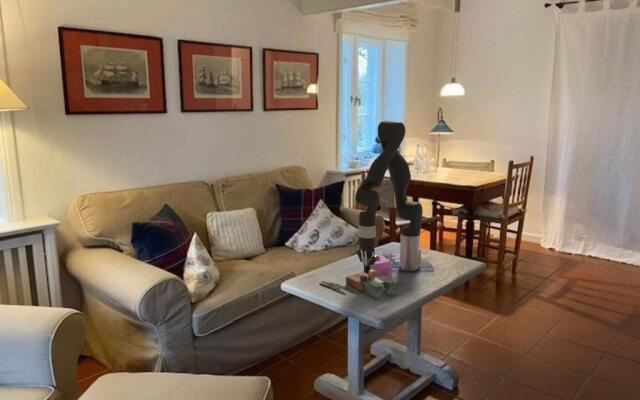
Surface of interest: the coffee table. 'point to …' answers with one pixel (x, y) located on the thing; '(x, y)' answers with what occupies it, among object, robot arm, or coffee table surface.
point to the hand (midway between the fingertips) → (366, 272)
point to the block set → (372, 286)
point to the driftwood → (337, 287)
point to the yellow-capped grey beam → (372, 276)
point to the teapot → (382, 267)
